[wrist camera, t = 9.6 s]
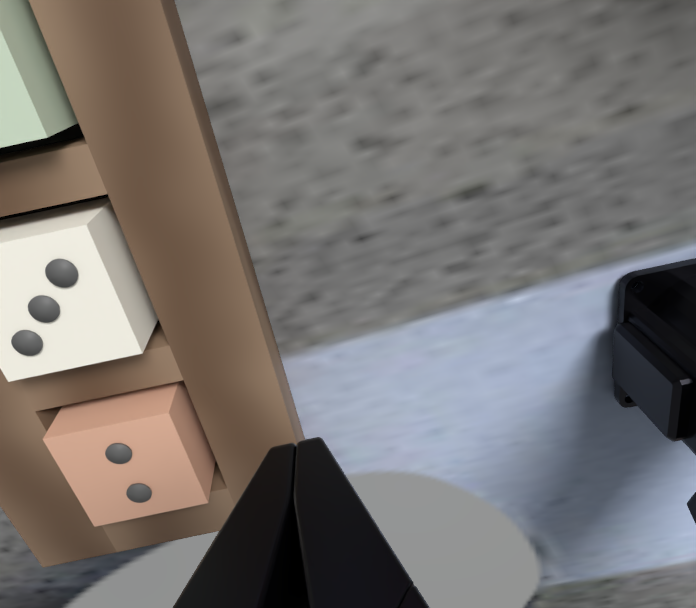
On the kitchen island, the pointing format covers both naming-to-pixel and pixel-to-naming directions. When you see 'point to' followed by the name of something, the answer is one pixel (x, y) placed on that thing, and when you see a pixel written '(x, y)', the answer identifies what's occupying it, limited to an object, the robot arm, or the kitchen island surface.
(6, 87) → the button sage
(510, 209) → the kitchen island surface
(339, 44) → the kitchen island surface
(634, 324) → the robot arm
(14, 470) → the button board
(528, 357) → the kitchen island surface
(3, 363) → the button cream
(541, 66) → the kitchen island surface
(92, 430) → the salmon pink square block
